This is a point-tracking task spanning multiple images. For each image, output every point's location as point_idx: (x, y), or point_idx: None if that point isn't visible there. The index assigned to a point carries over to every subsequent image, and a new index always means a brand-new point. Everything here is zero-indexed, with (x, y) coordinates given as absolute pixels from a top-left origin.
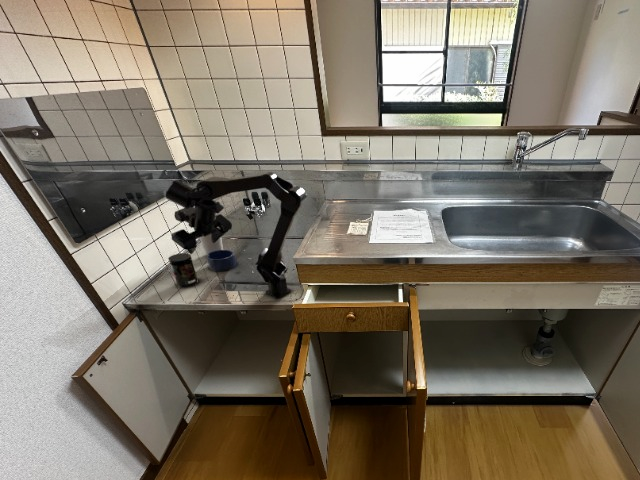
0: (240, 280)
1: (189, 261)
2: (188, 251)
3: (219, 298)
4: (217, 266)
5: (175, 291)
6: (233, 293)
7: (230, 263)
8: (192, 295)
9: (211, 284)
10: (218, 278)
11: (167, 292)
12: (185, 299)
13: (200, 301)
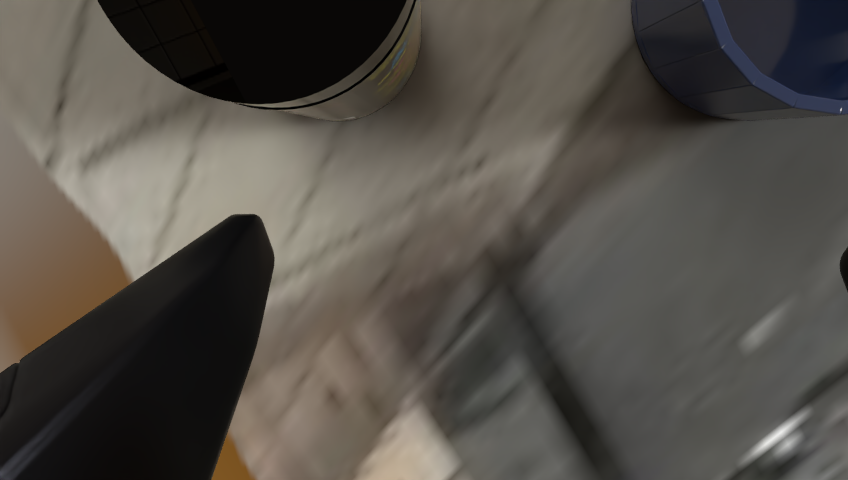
0: (592, 359)
1: (316, 101)
2: (205, 247)
3: (314, 442)
4: (668, 50)
5: None
6: (415, 467)
7: (777, 117)
8: None
9: (428, 222)
10: (534, 181)
11: None
12: None
13: None
